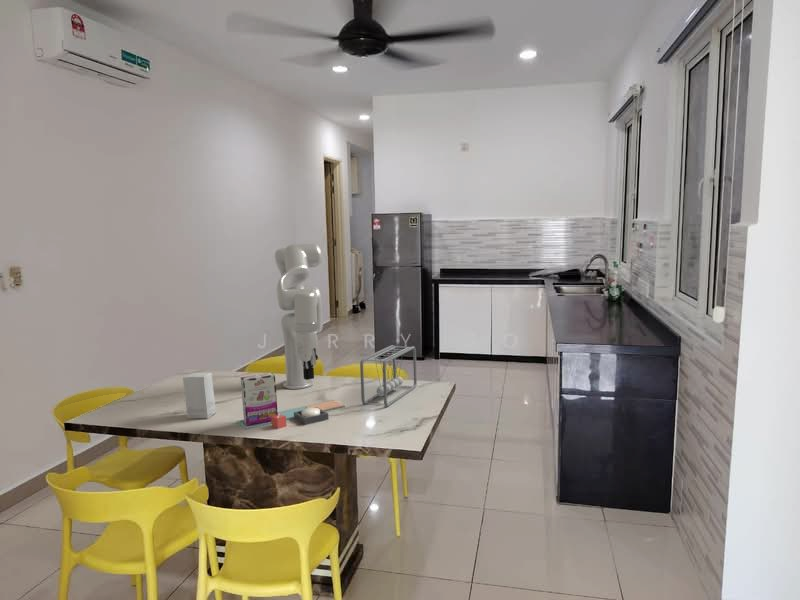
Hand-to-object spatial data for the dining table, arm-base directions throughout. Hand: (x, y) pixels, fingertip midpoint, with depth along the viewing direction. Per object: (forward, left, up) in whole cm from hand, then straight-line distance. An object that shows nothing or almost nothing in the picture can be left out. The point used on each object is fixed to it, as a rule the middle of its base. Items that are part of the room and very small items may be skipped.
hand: (308, 378), depth 197 cm
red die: (+1, -12, -14) cm, 19 cm away
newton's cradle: (-5, +37, -15) cm, 40 cm away
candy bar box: (-8, -15, -15) cm, 23 cm away
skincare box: (-28, -30, -15) cm, 44 cm away
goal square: (-8, +10, -14) cm, 19 cm away
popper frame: (+1, 0, -14) cm, 14 cm away
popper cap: (+1, 0, -14) cm, 14 cm away
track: (-8, -3, -14) cm, 17 cm away
